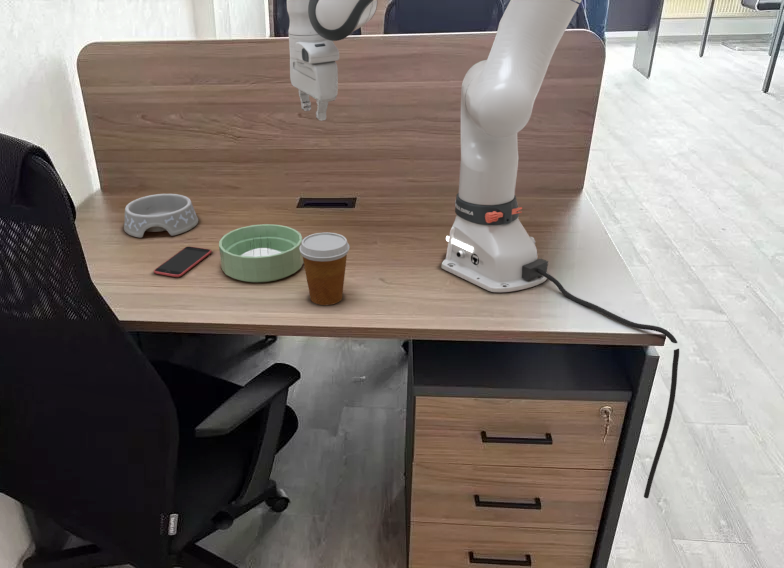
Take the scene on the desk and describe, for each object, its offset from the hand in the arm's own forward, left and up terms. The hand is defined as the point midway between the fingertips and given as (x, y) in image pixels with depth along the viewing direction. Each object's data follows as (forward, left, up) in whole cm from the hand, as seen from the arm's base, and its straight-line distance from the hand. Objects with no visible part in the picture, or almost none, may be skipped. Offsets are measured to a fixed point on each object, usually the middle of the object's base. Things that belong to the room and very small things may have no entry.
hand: (313, 115), depth 158 cm
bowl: (-12, +19, -27) cm, 35 cm away
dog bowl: (+23, +33, -27) cm, 48 cm away
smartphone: (-2, +34, -27) cm, 43 cm away
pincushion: (-12, +19, -26) cm, 35 cm away
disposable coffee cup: (-32, +13, -27) cm, 44 cm away
